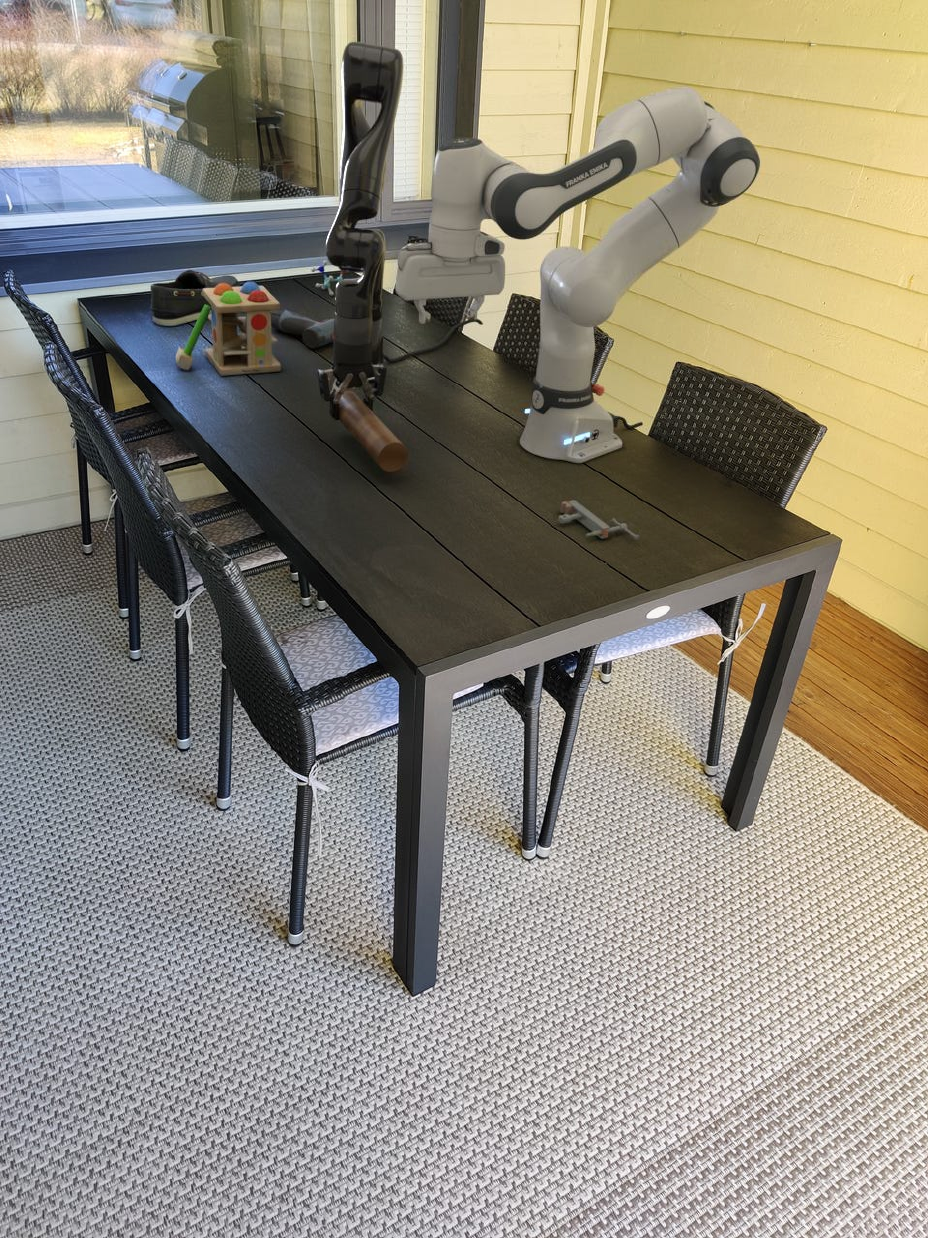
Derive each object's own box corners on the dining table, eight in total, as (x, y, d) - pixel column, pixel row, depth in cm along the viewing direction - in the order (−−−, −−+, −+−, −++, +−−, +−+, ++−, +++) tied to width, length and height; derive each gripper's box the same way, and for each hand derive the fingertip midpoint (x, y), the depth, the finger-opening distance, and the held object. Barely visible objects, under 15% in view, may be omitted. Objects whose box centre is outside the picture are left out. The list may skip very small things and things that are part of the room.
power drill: (305, 316, 264) (364, 334, 256) (257, 332, 251) (318, 351, 243) (305, 296, 261) (365, 314, 253) (257, 311, 248) (318, 330, 240)
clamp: (548, 504, 180) (591, 495, 185) (546, 514, 181) (590, 505, 186) (596, 542, 170) (641, 532, 174) (594, 553, 171) (639, 543, 175)
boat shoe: (260, 304, 271) (258, 265, 265) (170, 328, 247) (166, 286, 242) (226, 295, 276) (223, 257, 271) (135, 318, 253) (129, 277, 247)
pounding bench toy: (183, 379, 220) (176, 299, 210) (169, 357, 231) (162, 280, 221) (282, 371, 230) (280, 294, 220) (264, 350, 240) (262, 276, 230)
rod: (331, 419, 201) (331, 392, 198) (358, 416, 203) (359, 389, 200) (377, 473, 183) (378, 444, 180) (407, 469, 186) (409, 440, 182)
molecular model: (344, 287, 277) (332, 252, 275) (316, 300, 280) (304, 265, 279) (361, 290, 287) (349, 256, 286) (333, 302, 291) (322, 269, 289)
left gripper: (324, 346, 184) (324, 428, 193) (395, 339, 189) (391, 420, 199) (311, 332, 189) (311, 413, 199) (380, 326, 195) (377, 405, 204)
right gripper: (406, 248, 163) (402, 330, 171) (513, 244, 171) (504, 322, 179) (391, 238, 167) (388, 319, 175) (496, 234, 176) (488, 311, 184)
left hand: (351, 416), depth 199 cm, fingers closed on rod, 6 cm apart
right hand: (447, 321), depth 177 cm, fingers open, 8 cm apart
